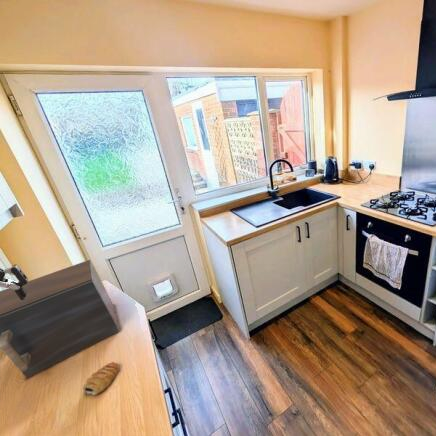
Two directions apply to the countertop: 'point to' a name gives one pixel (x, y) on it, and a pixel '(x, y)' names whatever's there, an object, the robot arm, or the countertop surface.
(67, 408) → the countertop surface
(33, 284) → the cupboard
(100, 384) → the pastry
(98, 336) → the door
